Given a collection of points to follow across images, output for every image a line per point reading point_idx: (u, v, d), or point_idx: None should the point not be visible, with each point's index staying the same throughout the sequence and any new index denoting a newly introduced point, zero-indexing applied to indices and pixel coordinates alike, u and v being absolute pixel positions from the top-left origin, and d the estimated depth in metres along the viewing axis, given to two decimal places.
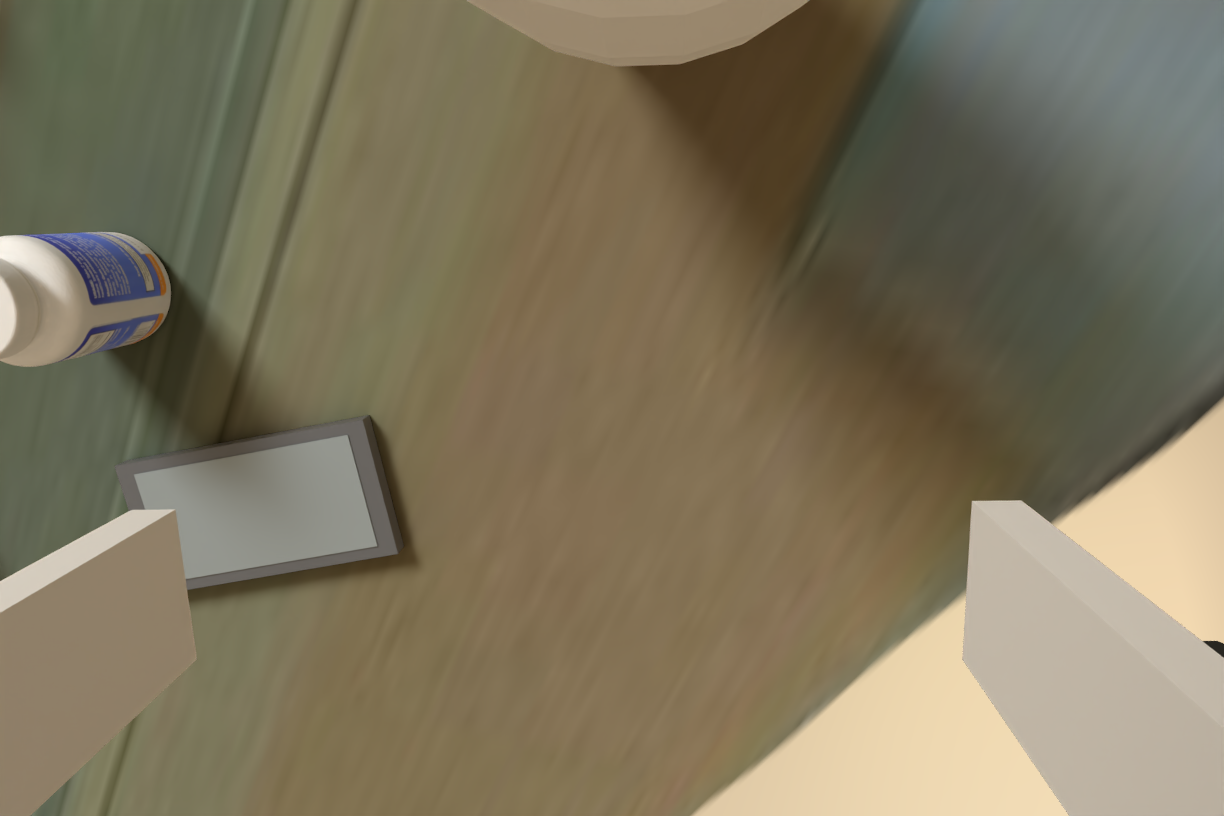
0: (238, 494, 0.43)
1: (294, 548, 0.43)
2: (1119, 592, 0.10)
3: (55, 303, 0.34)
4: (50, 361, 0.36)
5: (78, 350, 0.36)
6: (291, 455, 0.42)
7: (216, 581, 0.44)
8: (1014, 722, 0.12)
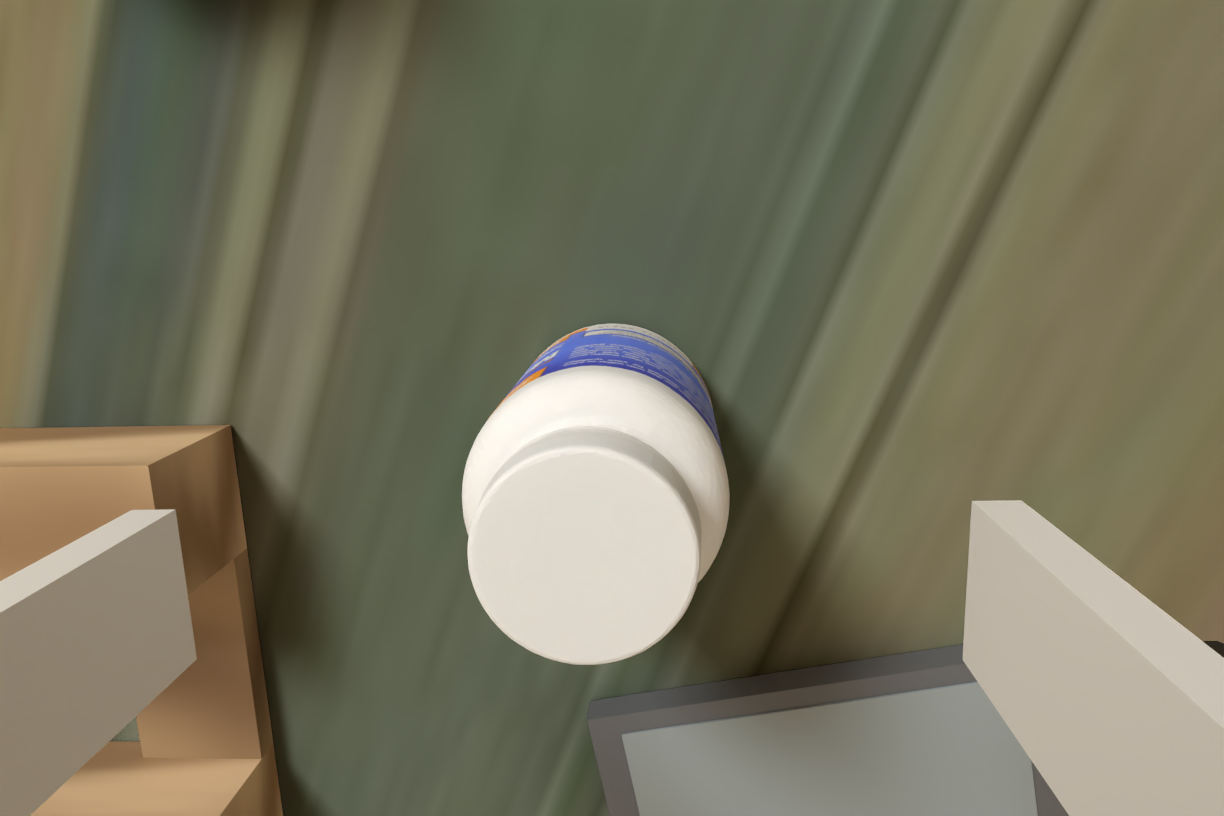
0: (801, 768, 0.25)
1: None
2: (1120, 593, 0.10)
3: (698, 514, 0.16)
4: None
5: None
6: (911, 708, 0.24)
7: None
8: (1014, 722, 0.12)
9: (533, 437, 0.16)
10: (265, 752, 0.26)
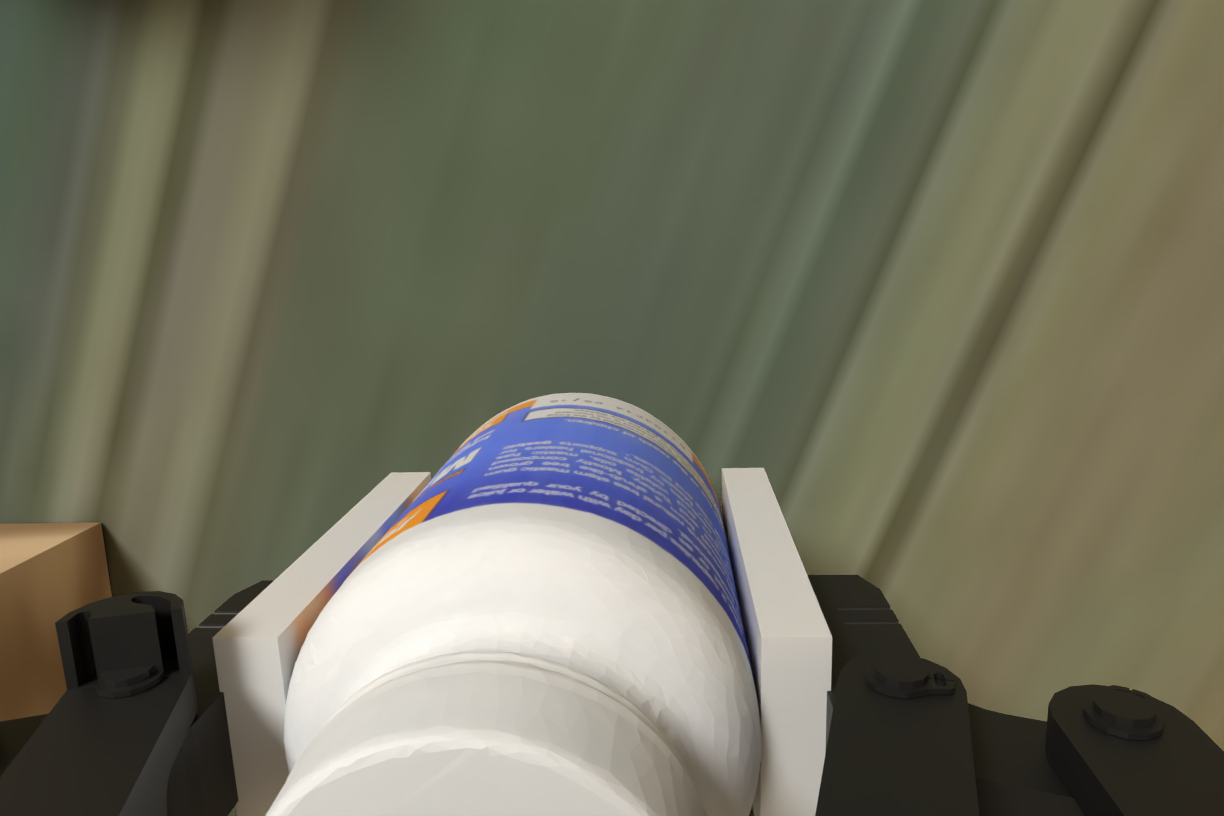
0: None
1: None
2: (775, 535, 0.12)
3: (707, 787, 0.09)
4: None
5: None
6: None
7: None
8: None
9: (398, 650, 0.09)
10: None
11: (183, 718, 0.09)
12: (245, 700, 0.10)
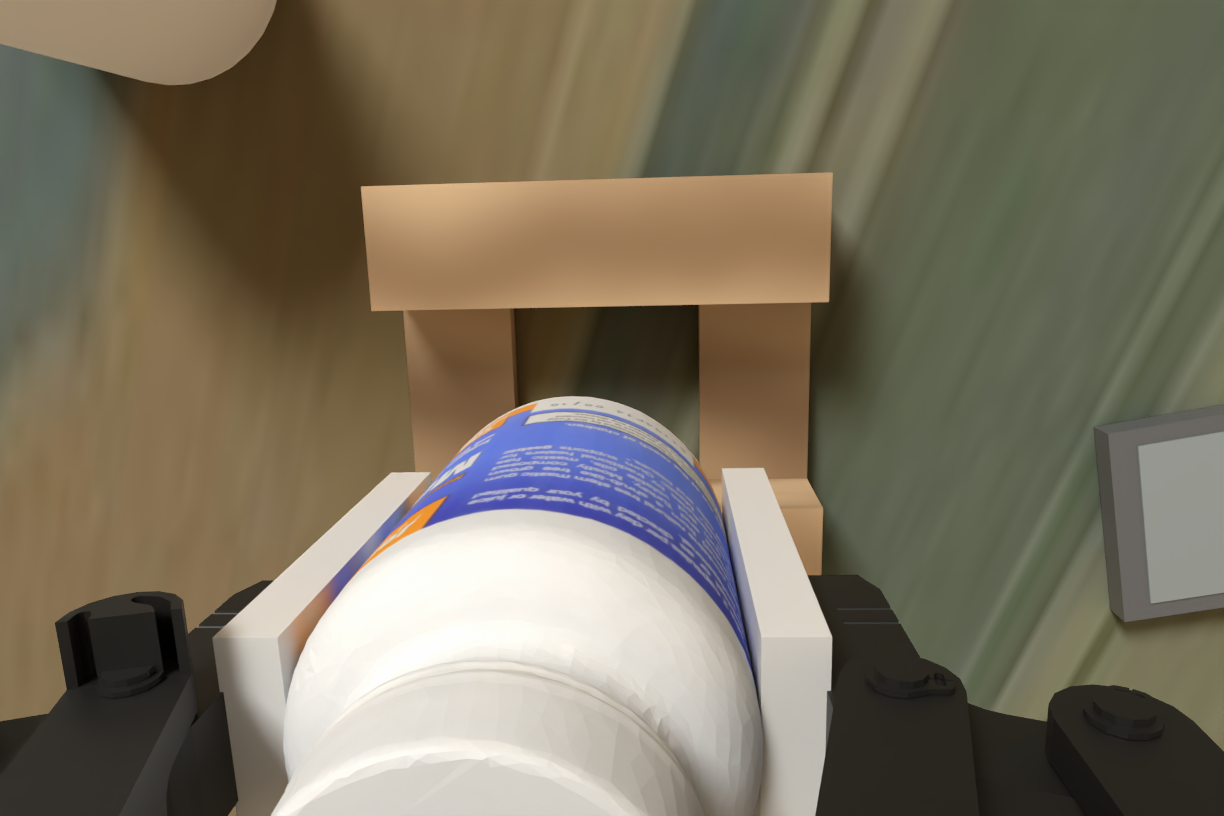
0: None
1: None
2: (774, 535, 0.12)
3: (709, 796, 0.09)
4: None
5: None
6: None
7: (1223, 602, 0.30)
8: None
9: (397, 658, 0.09)
10: None
11: (183, 718, 0.09)
12: (245, 700, 0.10)
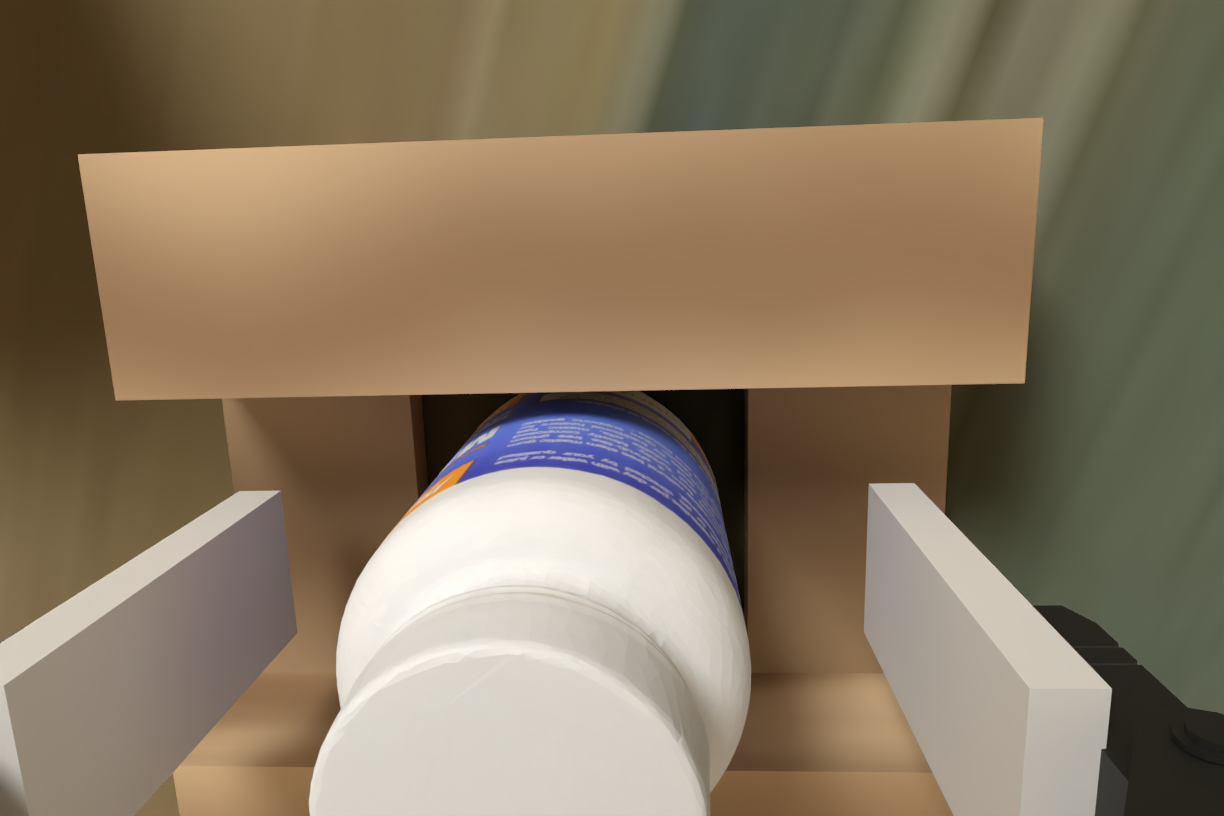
0: None
1: None
2: (971, 561, 0.11)
3: (704, 709, 0.10)
4: None
5: None
6: None
7: None
8: (895, 685, 0.13)
9: (438, 591, 0.10)
10: None
11: None
12: None
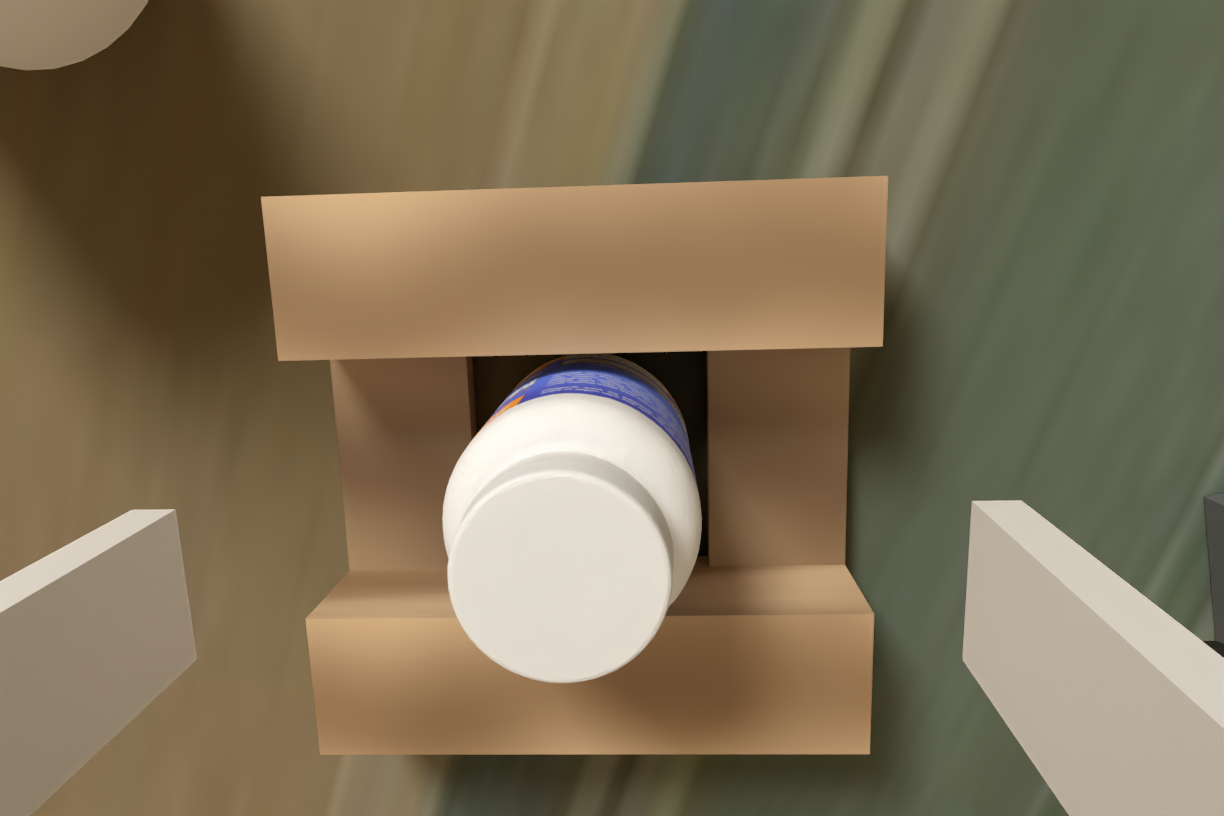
0: None
1: None
2: (1120, 592, 0.10)
3: (671, 536, 0.17)
4: None
5: None
6: None
7: None
8: (1014, 722, 0.12)
9: (511, 463, 0.17)
10: None
11: None
12: None
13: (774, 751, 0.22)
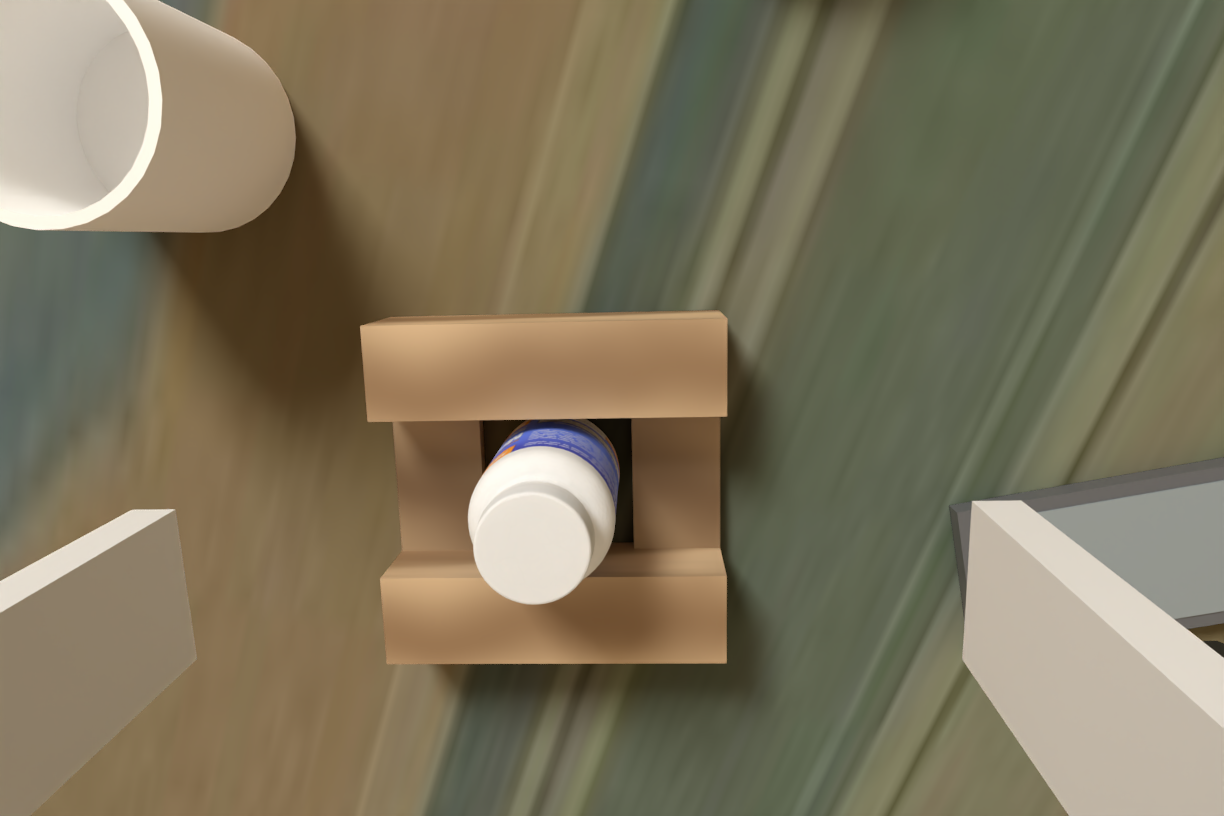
0: (1102, 545, 0.37)
1: None
2: (1120, 592, 0.10)
3: (596, 527, 0.30)
4: None
5: None
6: (1180, 499, 0.36)
7: None
8: (1014, 722, 0.12)
9: (507, 486, 0.30)
10: (719, 545, 0.38)
11: None
12: None
13: (668, 662, 0.35)
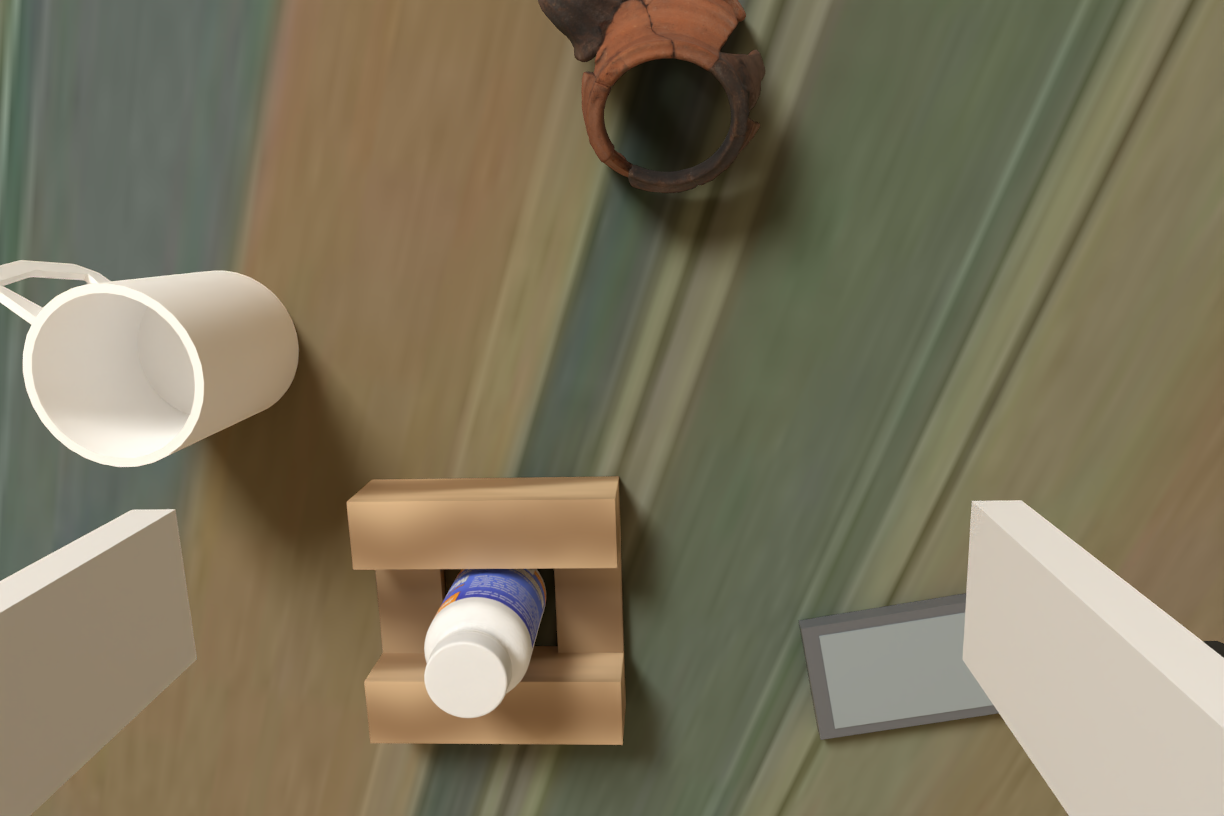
0: (912, 653, 0.48)
1: (957, 699, 0.48)
2: (1120, 592, 0.10)
3: (515, 658, 0.42)
4: None
5: None
6: None
7: (879, 728, 0.49)
8: (1014, 722, 0.12)
9: (450, 629, 0.42)
10: (623, 649, 0.49)
11: None
12: None
13: (579, 743, 0.47)
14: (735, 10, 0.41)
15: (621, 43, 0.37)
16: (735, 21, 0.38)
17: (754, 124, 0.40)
